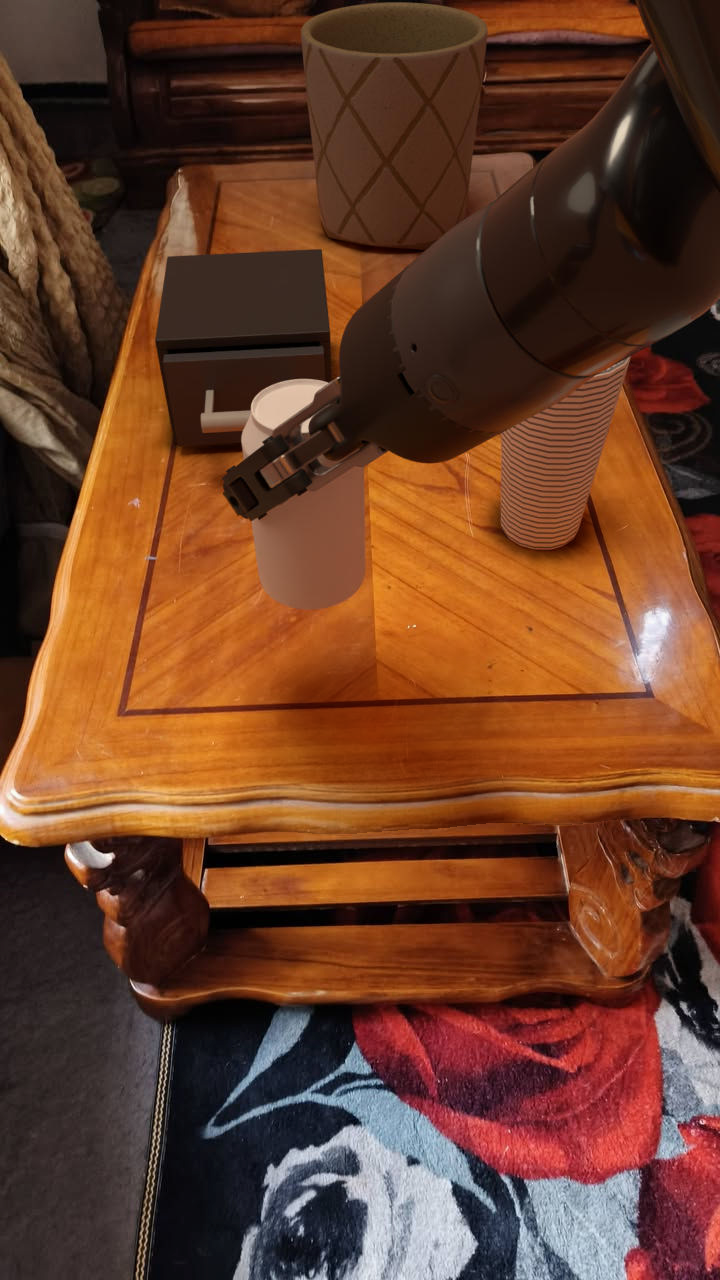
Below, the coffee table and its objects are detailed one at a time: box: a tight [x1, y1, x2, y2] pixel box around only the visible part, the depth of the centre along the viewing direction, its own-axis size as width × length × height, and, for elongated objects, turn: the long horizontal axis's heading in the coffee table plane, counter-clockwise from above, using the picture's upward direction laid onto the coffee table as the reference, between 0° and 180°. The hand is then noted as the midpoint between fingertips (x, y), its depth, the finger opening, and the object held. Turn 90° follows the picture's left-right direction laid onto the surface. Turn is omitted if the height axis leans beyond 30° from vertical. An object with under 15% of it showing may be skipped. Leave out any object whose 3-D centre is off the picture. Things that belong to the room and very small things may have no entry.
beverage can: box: [241, 379, 366, 611], centre depth 52 cm, size 6×6×12 cm
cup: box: [500, 356, 632, 551], centre depth 68 cm, size 8×8×16 cm
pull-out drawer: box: [163, 342, 325, 447], centre depth 81 cm, size 18×13×8 cm
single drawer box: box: [154, 248, 333, 445], centre depth 84 cm, size 15×14×10 cm
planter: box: [300, 1, 488, 251], centre depth 105 cm, size 19×19×20 cm
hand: (283, 469), depth 51 cm, fingers closed on beverage can, 6 cm apart
